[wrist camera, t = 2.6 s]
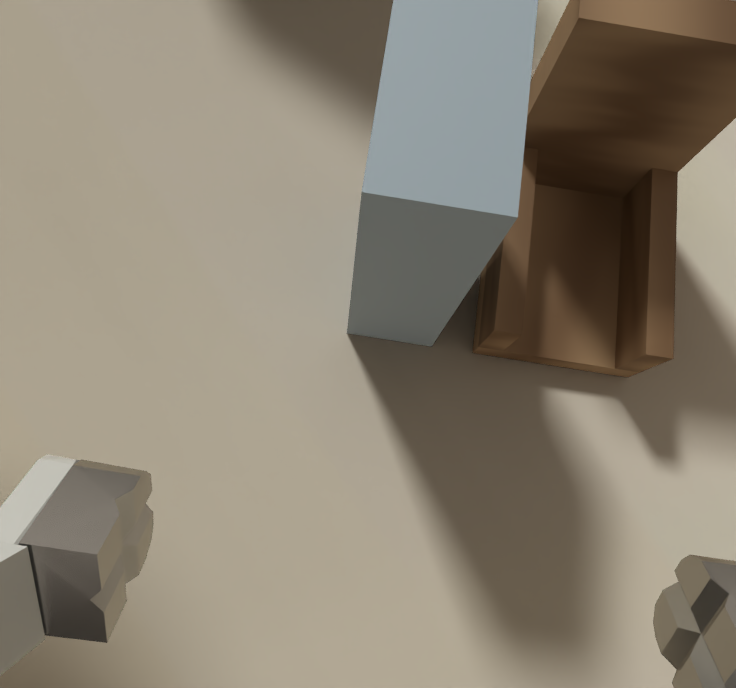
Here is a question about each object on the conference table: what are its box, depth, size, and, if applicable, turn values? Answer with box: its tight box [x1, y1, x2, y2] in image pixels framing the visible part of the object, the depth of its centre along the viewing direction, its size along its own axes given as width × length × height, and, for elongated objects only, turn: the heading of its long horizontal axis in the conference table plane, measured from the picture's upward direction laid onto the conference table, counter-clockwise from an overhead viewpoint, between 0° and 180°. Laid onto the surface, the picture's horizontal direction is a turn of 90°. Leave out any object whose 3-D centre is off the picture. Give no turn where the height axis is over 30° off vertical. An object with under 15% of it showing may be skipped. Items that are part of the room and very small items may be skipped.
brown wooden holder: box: [472, 0, 736, 377], centre depth 22 cm, size 6×9×10 cm
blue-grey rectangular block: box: [347, 0, 538, 346], centre depth 20 cm, size 4×6×12 cm, turn 172°
